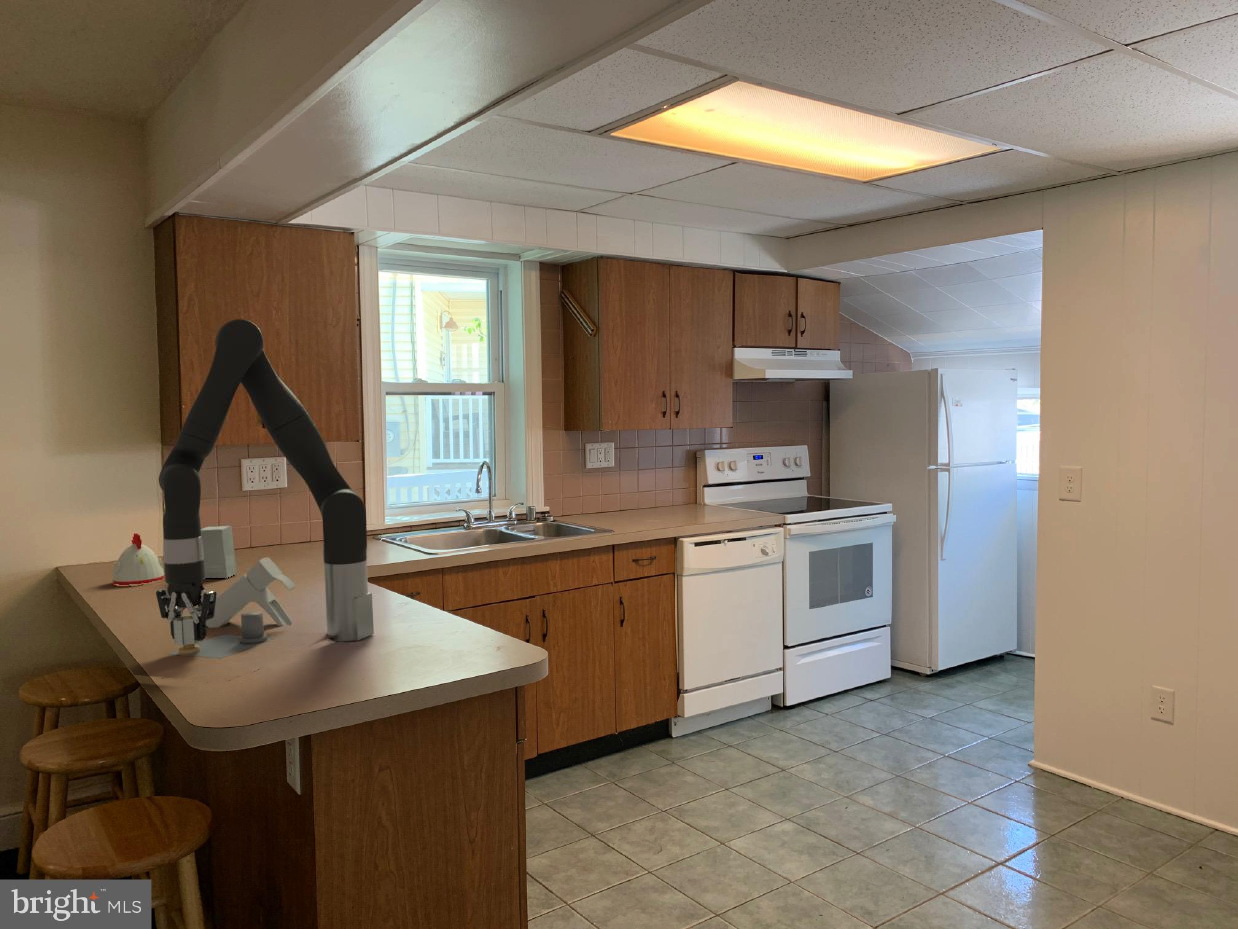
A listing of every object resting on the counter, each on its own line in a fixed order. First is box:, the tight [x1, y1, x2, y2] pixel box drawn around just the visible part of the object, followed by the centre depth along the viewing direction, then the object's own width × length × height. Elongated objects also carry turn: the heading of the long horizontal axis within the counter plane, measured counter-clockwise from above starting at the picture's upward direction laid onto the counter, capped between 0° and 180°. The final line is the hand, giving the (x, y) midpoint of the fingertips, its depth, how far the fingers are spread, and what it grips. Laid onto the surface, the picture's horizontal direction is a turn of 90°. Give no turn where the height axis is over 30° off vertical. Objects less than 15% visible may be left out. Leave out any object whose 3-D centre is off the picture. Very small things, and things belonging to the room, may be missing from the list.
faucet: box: [198, 556, 296, 629], centre depth 215 cm, size 6×16×20 cm
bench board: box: [167, 611, 275, 659], centre depth 195 cm, size 14×16×8 cm
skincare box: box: [201, 525, 238, 579], centre depth 281 cm, size 8×7×16 cm
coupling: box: [173, 614, 204, 646], centre depth 190 cm, size 5×5×5 cm
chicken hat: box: [112, 533, 165, 585], centre depth 277 cm, size 14×14×15 cm
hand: (188, 638), depth 190 cm, fingers closed on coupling, 5 cm apart
